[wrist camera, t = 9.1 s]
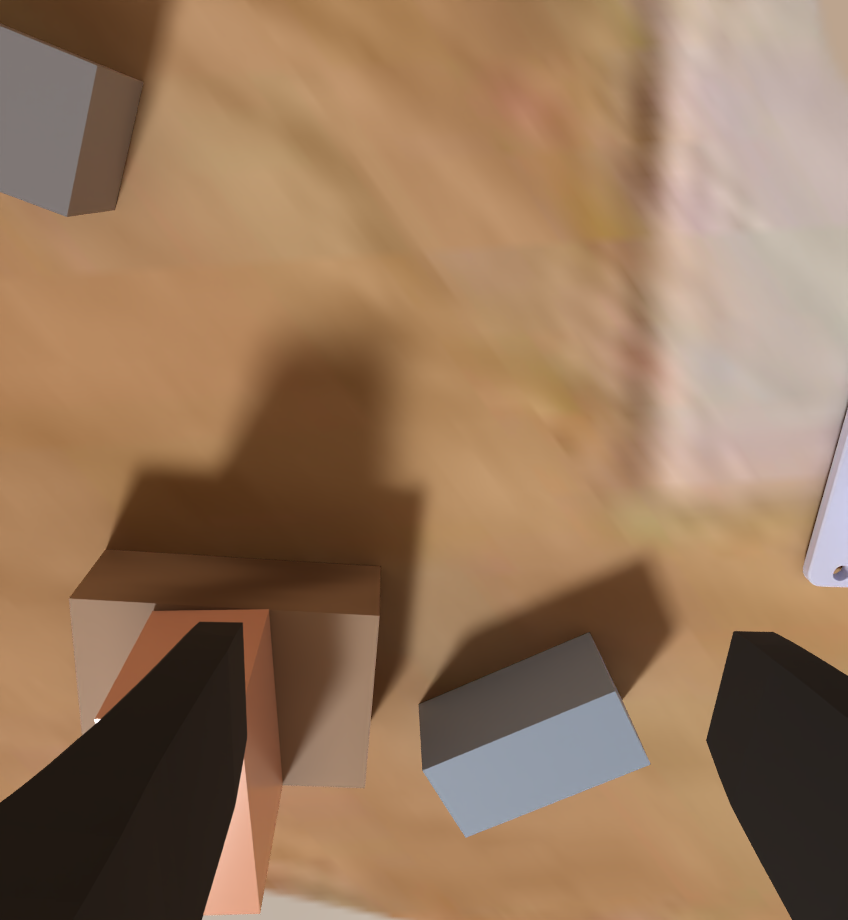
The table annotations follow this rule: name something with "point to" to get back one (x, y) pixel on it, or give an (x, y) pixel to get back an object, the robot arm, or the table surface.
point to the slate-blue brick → (527, 736)
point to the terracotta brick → (261, 770)
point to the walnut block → (292, 636)
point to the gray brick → (62, 126)
